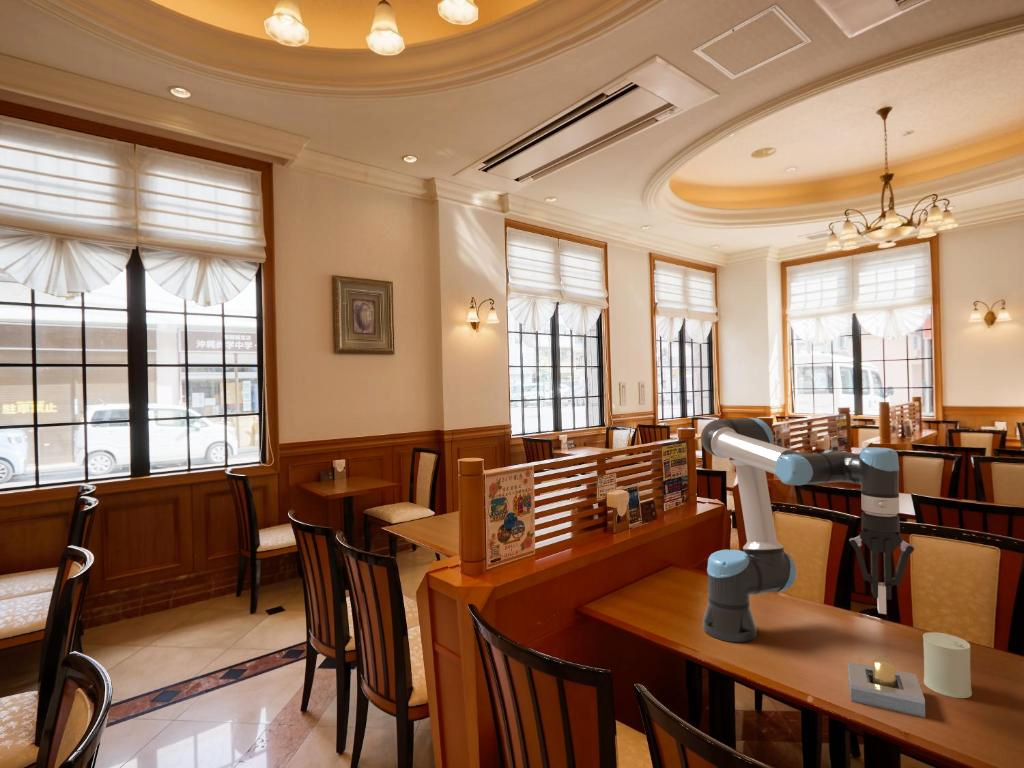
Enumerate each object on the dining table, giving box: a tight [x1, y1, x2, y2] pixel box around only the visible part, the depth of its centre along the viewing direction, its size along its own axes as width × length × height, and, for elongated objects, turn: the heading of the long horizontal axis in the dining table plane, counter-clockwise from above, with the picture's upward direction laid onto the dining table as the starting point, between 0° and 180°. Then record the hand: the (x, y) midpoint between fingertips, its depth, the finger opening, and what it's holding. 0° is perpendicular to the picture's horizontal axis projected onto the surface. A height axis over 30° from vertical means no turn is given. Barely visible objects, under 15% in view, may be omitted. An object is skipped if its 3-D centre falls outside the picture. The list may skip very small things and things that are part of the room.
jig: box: [847, 660, 926, 719], centre depth 129 cm, size 14×12×4 cm
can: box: [922, 631, 973, 699], centre depth 132 cm, size 9×9×12 cm
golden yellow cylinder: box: [872, 657, 896, 688], centre depth 129 cm, size 4×4×8 cm
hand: (881, 611), depth 129 cm, fingers closed
